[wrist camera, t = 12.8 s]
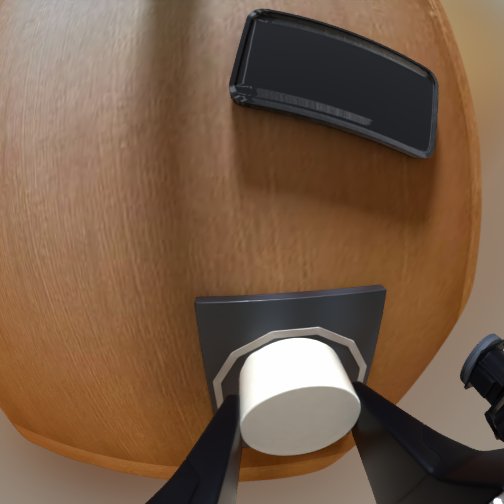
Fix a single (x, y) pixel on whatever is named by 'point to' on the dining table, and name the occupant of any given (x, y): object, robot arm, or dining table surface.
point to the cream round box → (295, 398)
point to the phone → (335, 81)
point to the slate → (286, 330)
